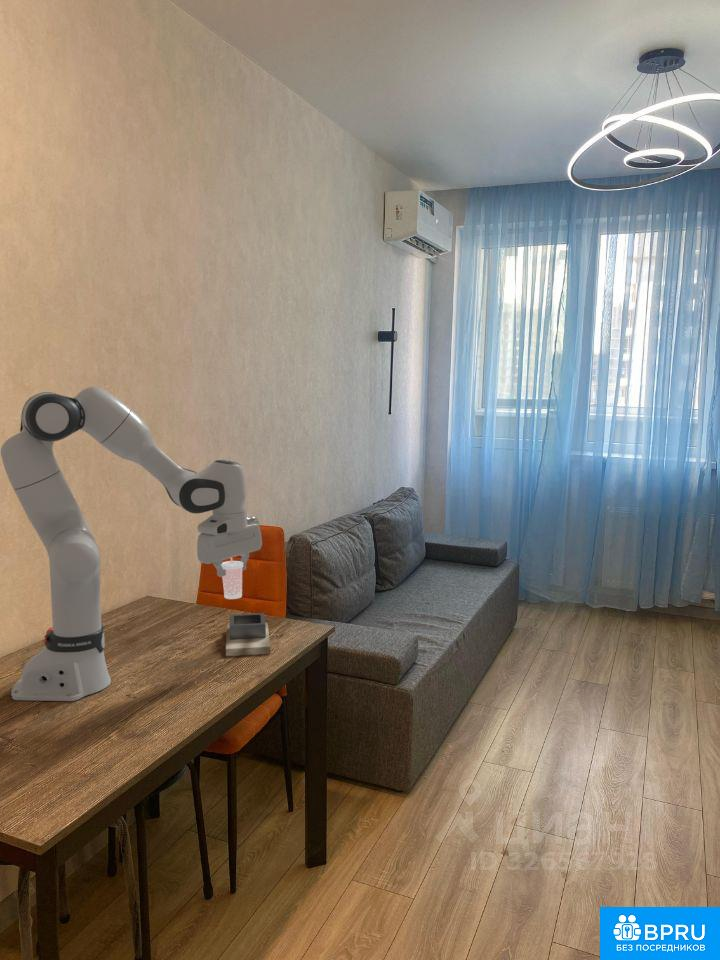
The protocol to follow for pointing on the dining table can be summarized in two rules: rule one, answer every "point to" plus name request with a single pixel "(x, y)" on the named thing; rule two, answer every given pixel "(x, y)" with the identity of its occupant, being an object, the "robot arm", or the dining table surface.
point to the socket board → (247, 645)
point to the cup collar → (247, 626)
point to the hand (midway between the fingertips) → (231, 573)
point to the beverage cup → (232, 579)
